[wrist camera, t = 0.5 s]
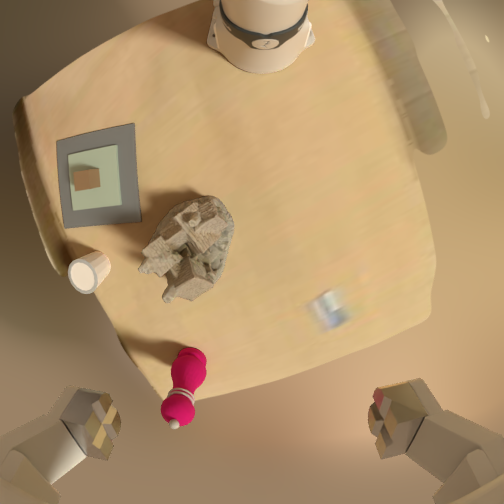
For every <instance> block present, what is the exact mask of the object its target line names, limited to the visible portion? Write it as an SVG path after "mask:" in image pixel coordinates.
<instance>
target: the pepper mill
mask: <svg viewBox="0 0 504 504" xmlns="http://www.w3.org/2000/svg"><path fill="white" fill-rule="evenodd" d="M205 366H206V357H205V355H204V354H203V353H202V352H201V351H200V350H198V349H196V348H185V349H182V350H181V351H180V352H179V354H178V357H177V359H176V360H175V361H174V362H173V364H172V367H171V377H172V380H173V389H171V390H170V391H169V393H168V396H167V398H166V399H165V400H164V401H163V403H162V405H161V414H162V416H163V418H164V419H165V420H166V421H167V422H168V423H169V426H170V427H171V428H172V429H177V428H178V427H179V426H184V425H187V424H188V423H190V422H191V421H192V420H193V418H194V415H195V409H194V402H195V398H194V396H193V394H194V391H195V390H196V388H198V387H199V386H200V385H201V384H202V383H203V381H204V380H205V377H206V368H205Z"/></svg>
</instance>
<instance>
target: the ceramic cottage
mask: <svg viewBox="0 0 504 504" xmlns="http://www.w3.org/2000/svg"><path fill="white" fill-rule="evenodd" d="M233 233H234V222H233V219H232V216H231V215H230V214H229V212H227V209H226V207H225V205H224V204H223V203H222V202H221V201H220V200H219V199H218V198H216V197H214V196H207V197H201V198H197V199H194V200H190V201H186V202H183V203H180V204H178V205H176V206H174V207H173V208H172V209H171V210H170V211H169V213H168V214H167V215H166V216H165V217H164V218H163V220H162V221H161V222H160V223H159V225H158V226H157V229H156V231H155V233H154V234H153V236H152V238H151V240H150V241H149V243H148V245H147V246H146V247H145V248H144V249H143V250H142V252H141V254H142V255H143V256H144V257H145V259H144V260H143V262H142V264H141V266H140V267H139V268H138V270H139V272H140V273H143V272H144V273H145V274H150V273H152V272H154V273H156V274H157V275H158V276H159V277H162V276H163V275H164V274H165V273H167V283H168V287H167V288H166V289H165V291H164V293H163V295H162V298H163V300H164V302H165V303H170V302H171V301H172V300H174V299H175V297H180V298H183V299H187V300H190V301H193V300H194V299H195V298H197V297H199V296H200V295H201V294H203V293H204V292H206V291H208V290H209V289H211V288H213V286H214V284H215V283H216V281H217V280H218V279H219V278H220V277H221V275H222V272H223V269H224V266H225V261H226V258H227V254H228V249H229V246H230V243H231V239H232V236H233Z"/></svg>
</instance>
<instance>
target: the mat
mask: <svg viewBox="0 0 504 504" xmlns="http://www.w3.org/2000/svg"><path fill="white" fill-rule="evenodd" d="M113 145H117V146H118V164H119V178H120V190H121V200H122V205H116V206H107V207H99V208H90V209H82V210H74V211H73V207H72V198H71V189H70V177H69V163H68V155H70V154H75V153H79V152H83V151H88V150H93V149H98V148H102V147H108V146H113ZM57 162H58V176H59V188H60V197H61V206H62V214H63V221H64V227H65V229H66V228H75V227H86V226H96V225H108V224H119V223H132V222H142V219H141V210H140V200H139V189H138V177H137V162H136V143H135V124H128V125H123V126H118V127H113V128H108V129H104V130H99V131H95V132H90V133H86V134H82V135H78V136H74V137H71V138H67V139H63V140H60V141H57Z"/></svg>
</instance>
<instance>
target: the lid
mask: <svg viewBox="0 0 504 504" xmlns="http://www.w3.org/2000/svg"><path fill="white" fill-rule="evenodd" d="M68 163H69V177H70V189H71V198H72V207H73V211H74V210H82V209H90V208H99V207H107V206H116V205H122V200H121V190H120V178H119V164H118V146H117V145H113V146H108V147H102V148H98V149H93V150H88V151H83V152H79V153H75V154H70V155H68Z"/></svg>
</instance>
